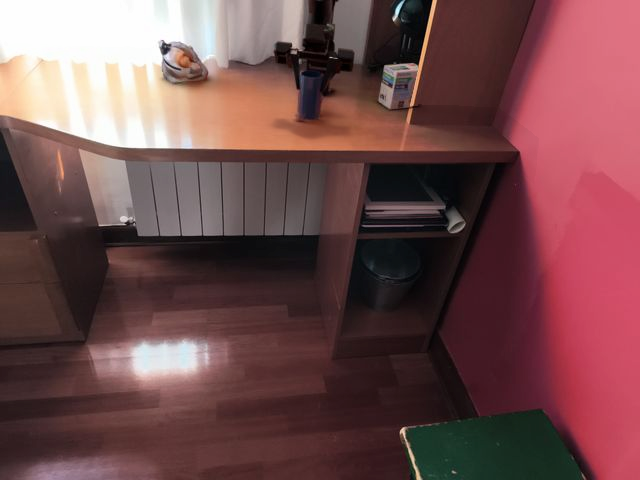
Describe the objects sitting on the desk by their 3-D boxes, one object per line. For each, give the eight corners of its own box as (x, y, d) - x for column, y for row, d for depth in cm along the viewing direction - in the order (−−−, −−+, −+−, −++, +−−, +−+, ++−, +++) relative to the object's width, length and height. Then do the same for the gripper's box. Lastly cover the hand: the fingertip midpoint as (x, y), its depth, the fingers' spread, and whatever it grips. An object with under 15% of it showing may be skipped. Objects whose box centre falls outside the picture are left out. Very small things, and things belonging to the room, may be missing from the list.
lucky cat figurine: (217, 77, 141) (214, 41, 128) (193, 101, 136) (187, 66, 123) (178, 54, 142) (171, 16, 130) (152, 77, 138) (142, 40, 125)
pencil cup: (309, 109, 114) (312, 68, 108) (324, 116, 111) (328, 75, 105) (292, 113, 111) (294, 72, 105) (307, 121, 108) (310, 79, 102)
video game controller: (308, 129, 119) (321, 107, 115) (293, 119, 118) (306, 97, 114) (316, 115, 127) (329, 95, 123) (302, 106, 126) (315, 85, 122)
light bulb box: (390, 110, 131) (396, 72, 124) (377, 101, 135) (383, 64, 129) (419, 106, 135) (427, 69, 129) (406, 98, 140) (413, 62, 133)
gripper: (275, 2, 101) (265, 68, 99) (359, 11, 100) (351, 78, 98) (280, 32, 112) (271, 92, 110) (356, 40, 111) (348, 100, 109)
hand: (309, 90), depth 106 cm, fingers closed on pencil cup, 5 cm apart
